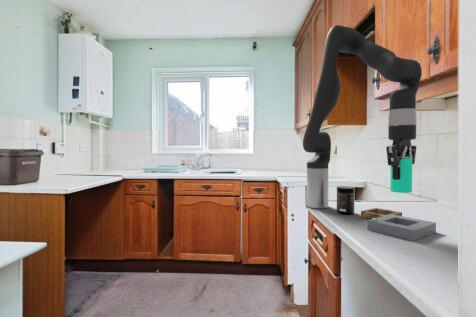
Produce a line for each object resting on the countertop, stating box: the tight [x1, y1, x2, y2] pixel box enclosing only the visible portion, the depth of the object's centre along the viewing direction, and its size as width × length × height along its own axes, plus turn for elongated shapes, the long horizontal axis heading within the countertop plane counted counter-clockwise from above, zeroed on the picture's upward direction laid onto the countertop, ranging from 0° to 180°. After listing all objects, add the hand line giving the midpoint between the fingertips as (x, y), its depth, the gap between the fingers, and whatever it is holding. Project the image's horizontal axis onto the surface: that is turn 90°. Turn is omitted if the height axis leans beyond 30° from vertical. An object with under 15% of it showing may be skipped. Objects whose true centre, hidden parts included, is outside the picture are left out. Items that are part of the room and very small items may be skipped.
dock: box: [367, 214, 437, 242], centre depth 91 cm, size 14×14×4 cm
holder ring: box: [360, 207, 403, 220], centre depth 106 cm, size 10×10×2 cm
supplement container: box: [336, 185, 356, 216], centre depth 115 cm, size 7×7×10 cm
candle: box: [390, 158, 413, 194], centre depth 90 cm, size 6×6×12 cm
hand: (401, 178), depth 90 cm, fingers closed on candle, 5 cm apart
